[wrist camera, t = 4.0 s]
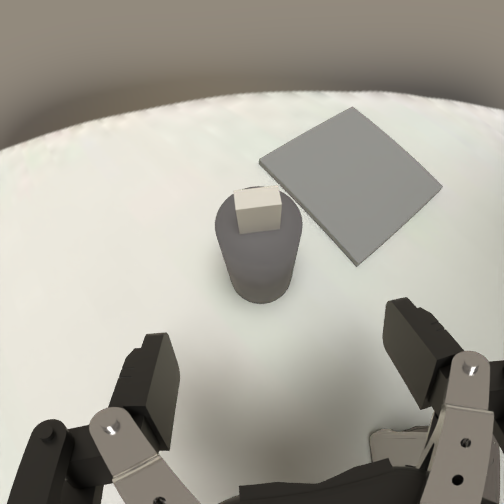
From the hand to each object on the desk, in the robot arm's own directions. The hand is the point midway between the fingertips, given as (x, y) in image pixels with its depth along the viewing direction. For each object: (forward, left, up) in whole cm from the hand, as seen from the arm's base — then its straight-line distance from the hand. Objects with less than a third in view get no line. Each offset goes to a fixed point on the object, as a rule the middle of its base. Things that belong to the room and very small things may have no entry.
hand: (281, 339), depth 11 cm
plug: (-3, -5, -11) cm, 13 cm away
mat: (-15, -7, -11) cm, 20 cm away
